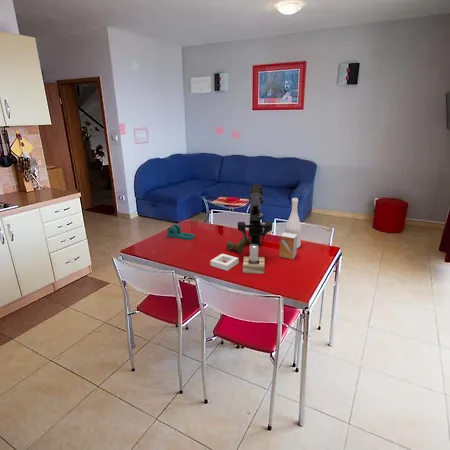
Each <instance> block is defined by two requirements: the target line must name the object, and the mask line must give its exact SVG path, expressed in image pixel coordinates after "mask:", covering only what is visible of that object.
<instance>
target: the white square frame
mask: <svg viewBox="0 0 450 450" xmlns="http://www.w3.org/2000/svg"><path fill="white" fill-rule="evenodd" d="M209 262H210V263H209V264H210V267H214V268H216V269H220V270H224V271H226V272H228V271H229V270H230V269H232V268H233V267H235V266H236V265H238V264H239V263H240V262H239V257H236V256H232V255H229V254H225V253H221V254H218V256H216V257H214V258H213V259H211V260H210V261H209Z"/></svg>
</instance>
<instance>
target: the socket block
mask: <svg viewBox="0 0 450 450" xmlns="http://www.w3.org/2000/svg"><path fill="white" fill-rule="evenodd" d="M242 274H260V275H261V274H263V275H264V274H265V257H264V256H263V257H262V256H258V264H250V256H243V263H242Z"/></svg>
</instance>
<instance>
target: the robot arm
mask: <svg viewBox="0 0 450 450" xmlns="http://www.w3.org/2000/svg"><path fill="white" fill-rule="evenodd" d="M249 195H250V196H248V204H249V209H250V210H249V223H247V224H246V222H245V221H238V222H237V230H238V231H240V233H241V232H242V234H243V238H244V237H245V241H246V237H247V231H246V229H248V236H249V237H250V243H249V245H251V244H257V245H258V246H262V245H263V243H262V242H261V237H262V241H263V242H264V241H265V238H266V236H267V234H268V233H270V232H272V231H273V222H271V221H270V222H269V221H267V222H266V221H265V222H264V224H262V220H264V213H261V205H262V204H263V203H264V198H263V196H264V187H263V186H261V184H256V183H255V184H254V183H253V184H252V186H250V187H249Z"/></svg>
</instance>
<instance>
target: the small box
mask: <svg viewBox="0 0 450 450" xmlns="http://www.w3.org/2000/svg"><path fill="white" fill-rule="evenodd" d="M297 250H298V248H297V234H291V233H285V231H284V232H282V233H281V235H280V237H279V252H278V253H279V255H278V256H279V257H280V258H285V259H289V260H294V258H295V257H296V256H297Z"/></svg>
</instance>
